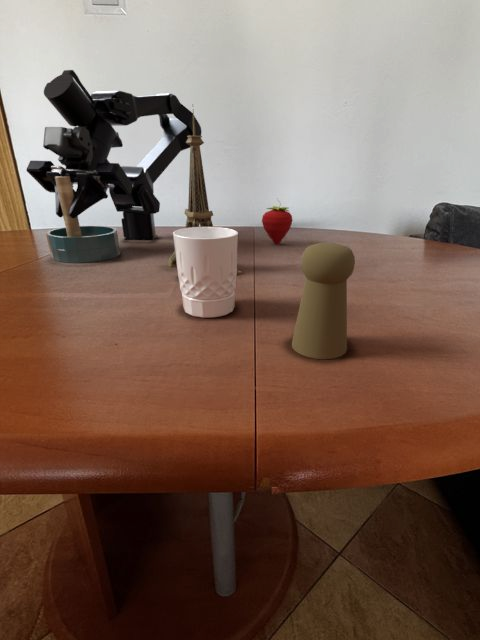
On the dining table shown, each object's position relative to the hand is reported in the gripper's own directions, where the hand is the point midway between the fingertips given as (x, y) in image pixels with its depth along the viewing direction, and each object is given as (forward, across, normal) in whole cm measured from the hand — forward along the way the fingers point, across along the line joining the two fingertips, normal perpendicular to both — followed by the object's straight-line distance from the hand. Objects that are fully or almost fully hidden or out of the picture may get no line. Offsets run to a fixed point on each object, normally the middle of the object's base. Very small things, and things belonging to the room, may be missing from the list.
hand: (64, 216), depth 67 cm
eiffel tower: (+4, +25, +7) cm, 27 cm away
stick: (+4, 0, +6) cm, 7 cm away
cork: (+21, +49, -10) cm, 55 cm away
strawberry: (-14, +33, +26) cm, 44 cm away
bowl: (+4, +1, +8) cm, 8 cm away
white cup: (+17, +34, -5) cm, 38 cm away
